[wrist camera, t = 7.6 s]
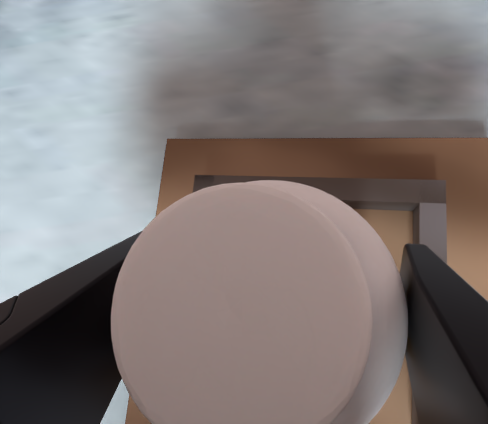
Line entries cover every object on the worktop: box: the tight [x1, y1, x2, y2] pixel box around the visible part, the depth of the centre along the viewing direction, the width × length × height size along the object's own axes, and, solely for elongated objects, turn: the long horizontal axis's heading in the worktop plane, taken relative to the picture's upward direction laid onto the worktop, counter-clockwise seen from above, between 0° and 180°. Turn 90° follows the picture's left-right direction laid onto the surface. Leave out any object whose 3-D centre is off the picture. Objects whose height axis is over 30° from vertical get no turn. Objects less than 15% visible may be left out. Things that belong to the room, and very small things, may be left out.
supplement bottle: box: [111, 180, 408, 424], centre depth 10 cm, size 6×6×10 cm
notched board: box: [125, 138, 488, 424], centre depth 17 cm, size 16×16×3 cm
